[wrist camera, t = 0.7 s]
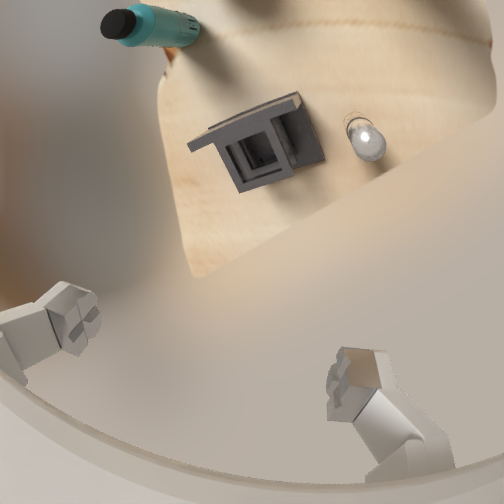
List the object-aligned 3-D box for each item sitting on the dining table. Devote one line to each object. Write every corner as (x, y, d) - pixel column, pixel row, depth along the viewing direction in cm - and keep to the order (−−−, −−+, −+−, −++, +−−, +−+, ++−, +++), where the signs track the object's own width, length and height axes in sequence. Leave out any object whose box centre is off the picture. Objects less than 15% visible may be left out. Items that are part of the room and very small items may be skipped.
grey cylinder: (363, 108, 38) (381, 124, 27) (371, 132, 40) (390, 157, 29) (339, 115, 40) (347, 133, 29) (348, 138, 42) (358, 165, 31)
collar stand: (297, 91, 39) (291, 96, 31) (324, 157, 45) (324, 179, 37) (211, 126, 46) (185, 141, 37) (240, 184, 51) (222, 211, 43)
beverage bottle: (211, 34, 35) (144, 21, 20) (180, 55, 38) (104, 59, 23) (193, 8, 33) (121, -13, 17) (163, 30, 36) (83, 25, 20)
